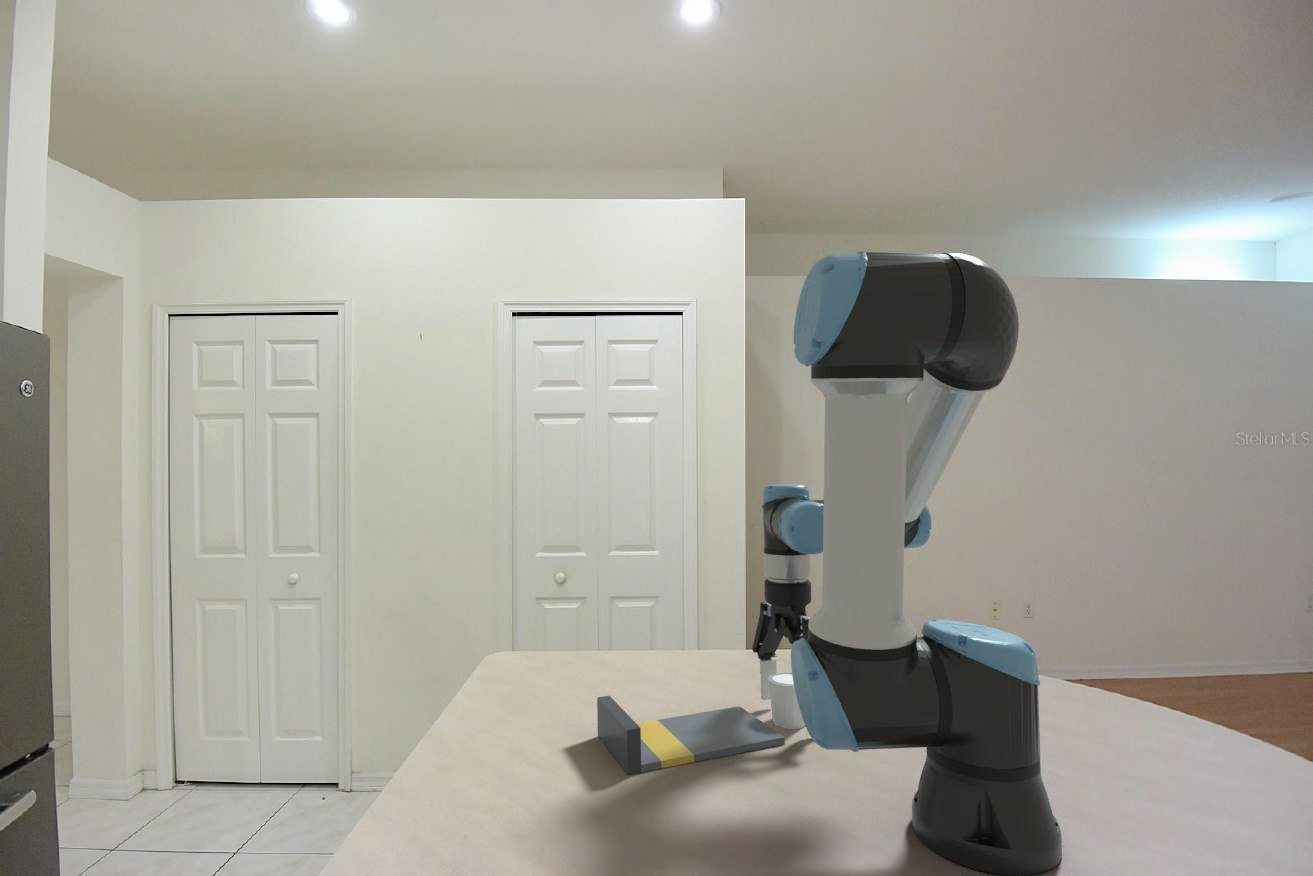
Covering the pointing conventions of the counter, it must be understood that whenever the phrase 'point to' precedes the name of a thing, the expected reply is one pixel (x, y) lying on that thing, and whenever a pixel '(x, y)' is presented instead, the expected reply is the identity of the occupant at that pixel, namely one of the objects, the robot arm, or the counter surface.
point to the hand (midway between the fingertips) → (790, 711)
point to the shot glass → (784, 701)
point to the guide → (679, 736)
